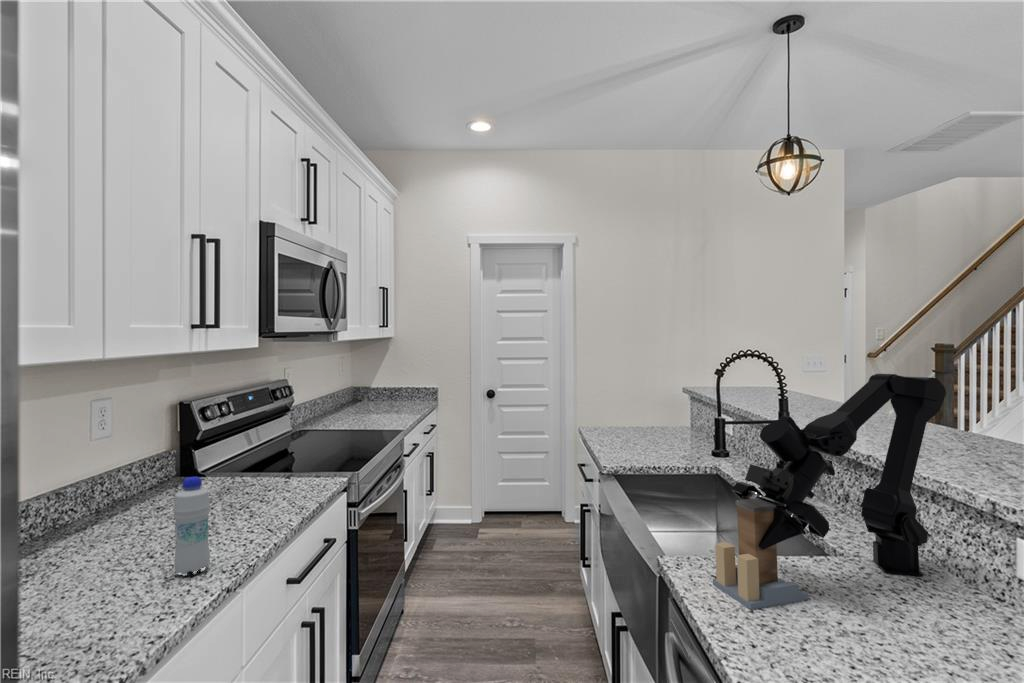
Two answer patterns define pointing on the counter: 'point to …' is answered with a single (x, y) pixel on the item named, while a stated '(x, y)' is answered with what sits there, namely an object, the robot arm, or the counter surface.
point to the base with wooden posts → (750, 581)
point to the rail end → (757, 536)
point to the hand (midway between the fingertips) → (751, 543)
